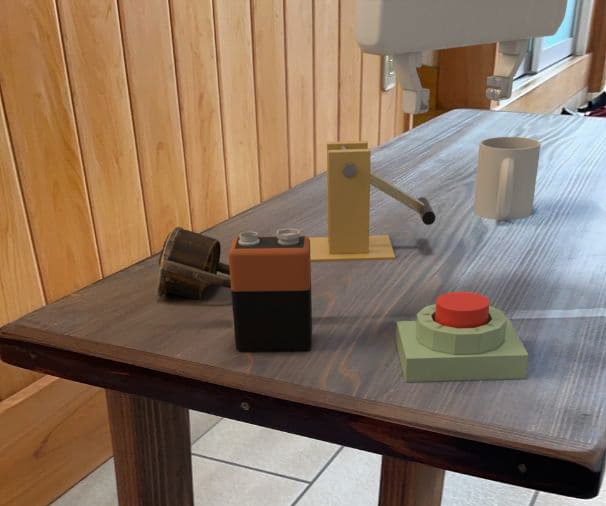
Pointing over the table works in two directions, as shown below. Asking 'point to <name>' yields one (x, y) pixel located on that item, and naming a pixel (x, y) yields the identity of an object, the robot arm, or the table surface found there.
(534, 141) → the cup
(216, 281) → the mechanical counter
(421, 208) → the lever
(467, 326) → the button
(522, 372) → the switch block
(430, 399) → the table surface
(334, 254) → the bracket
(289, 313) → the battery
